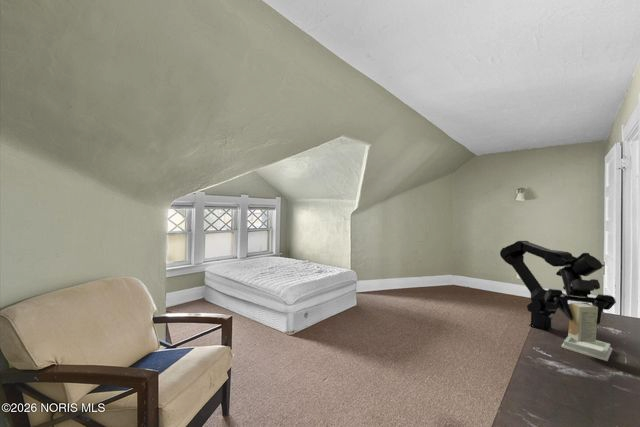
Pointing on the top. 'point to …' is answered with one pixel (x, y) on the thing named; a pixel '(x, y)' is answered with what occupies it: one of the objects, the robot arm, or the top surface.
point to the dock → (589, 348)
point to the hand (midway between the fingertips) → (584, 321)
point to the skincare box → (583, 322)
